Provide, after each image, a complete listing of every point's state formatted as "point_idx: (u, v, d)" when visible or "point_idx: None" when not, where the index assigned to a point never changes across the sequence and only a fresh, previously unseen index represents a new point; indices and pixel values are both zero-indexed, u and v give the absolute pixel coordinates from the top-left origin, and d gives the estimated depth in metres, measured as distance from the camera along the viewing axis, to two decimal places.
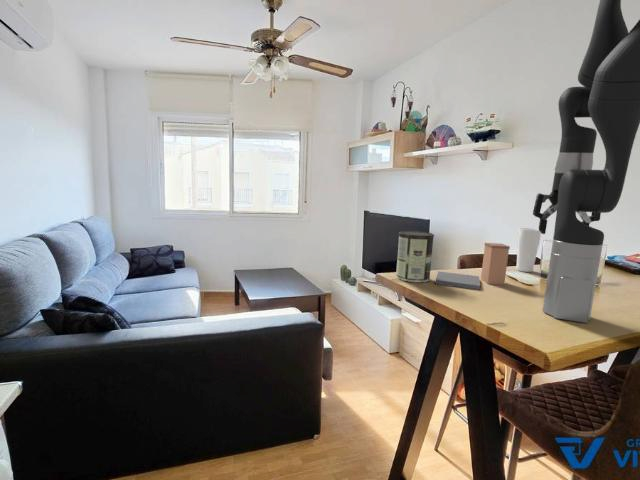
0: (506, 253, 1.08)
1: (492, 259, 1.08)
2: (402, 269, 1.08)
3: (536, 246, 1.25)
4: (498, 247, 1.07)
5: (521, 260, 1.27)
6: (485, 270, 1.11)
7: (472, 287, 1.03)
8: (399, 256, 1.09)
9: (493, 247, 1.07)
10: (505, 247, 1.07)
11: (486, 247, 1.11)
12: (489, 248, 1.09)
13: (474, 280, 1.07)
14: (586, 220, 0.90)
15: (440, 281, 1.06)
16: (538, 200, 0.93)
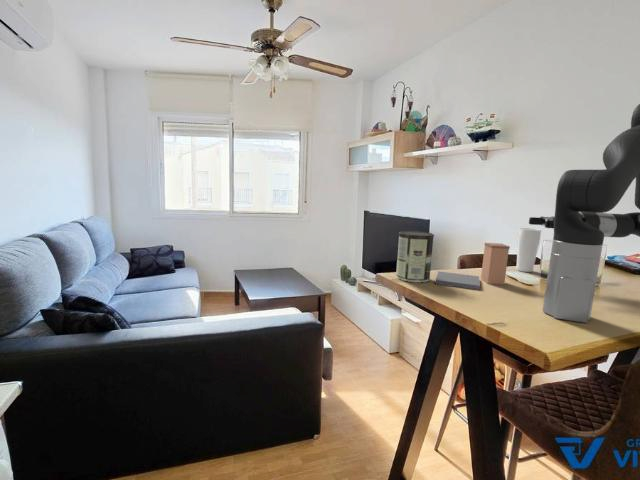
0: (506, 253, 1.08)
1: (492, 259, 1.08)
2: (402, 269, 1.08)
3: (536, 246, 1.25)
4: (498, 247, 1.07)
5: (521, 260, 1.27)
6: (485, 270, 1.11)
7: (472, 287, 1.03)
8: (399, 256, 1.09)
9: (493, 247, 1.07)
10: (505, 247, 1.07)
11: (486, 247, 1.11)
12: (489, 248, 1.09)
13: (474, 280, 1.07)
14: None
15: (440, 281, 1.06)
16: None
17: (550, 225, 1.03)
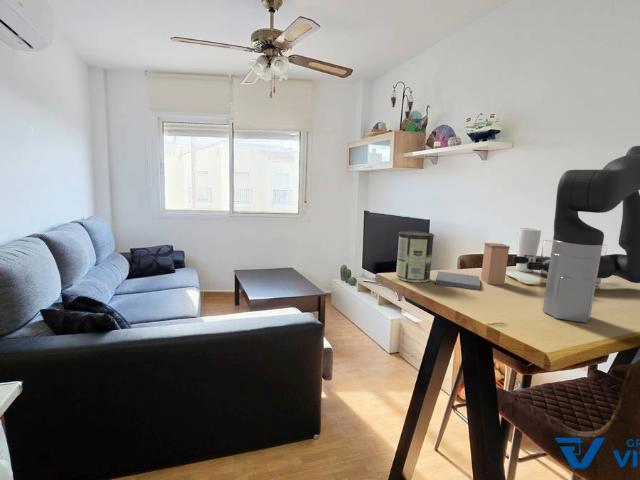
0: (506, 253, 1.08)
1: (492, 259, 1.08)
2: (402, 269, 1.08)
3: (536, 246, 1.25)
4: (498, 247, 1.07)
5: None
6: (485, 270, 1.11)
7: (472, 287, 1.03)
8: (399, 256, 1.09)
9: (493, 247, 1.07)
10: (505, 247, 1.07)
11: (486, 247, 1.11)
12: (489, 248, 1.09)
13: (474, 280, 1.07)
14: (543, 262, 1.06)
15: (440, 281, 1.06)
16: None
17: (532, 267, 1.05)
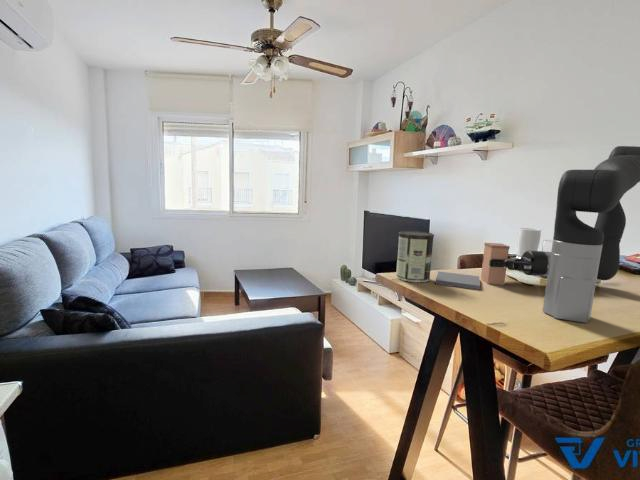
0: (506, 253, 1.08)
1: (492, 258, 1.08)
2: (402, 269, 1.08)
3: (536, 246, 1.25)
4: (498, 247, 1.07)
5: None
6: (485, 270, 1.11)
7: (472, 287, 1.03)
8: (399, 256, 1.09)
9: (493, 247, 1.07)
10: (505, 247, 1.07)
11: (486, 247, 1.11)
12: (489, 248, 1.09)
13: (474, 280, 1.07)
14: None
15: (440, 281, 1.06)
16: None
17: (494, 264, 1.07)
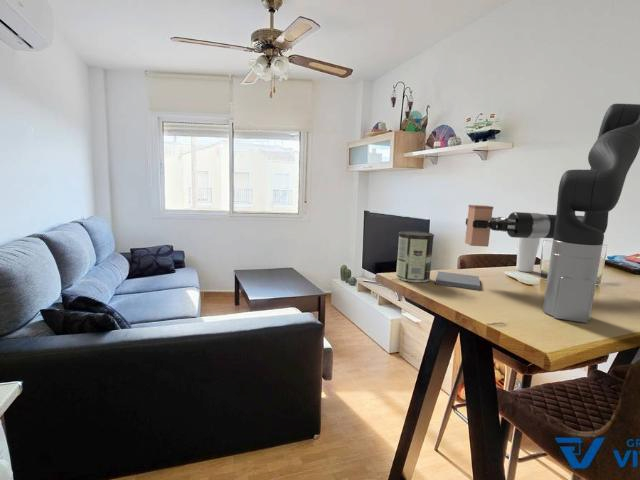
0: (490, 214, 1.05)
1: (476, 219, 1.05)
2: (402, 269, 1.08)
3: (536, 246, 1.25)
4: (481, 207, 1.04)
5: (521, 260, 1.27)
6: (468, 233, 1.08)
7: (472, 287, 1.03)
8: (399, 256, 1.09)
9: (476, 207, 1.04)
10: (489, 207, 1.04)
11: (470, 209, 1.08)
12: (472, 209, 1.06)
13: (474, 280, 1.07)
14: (489, 220, 1.04)
15: (440, 281, 1.06)
16: None
17: (477, 225, 1.04)
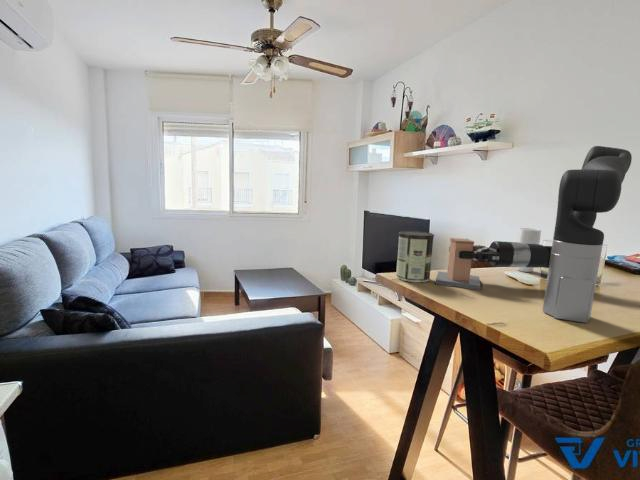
0: (471, 248, 1.05)
1: (456, 254, 1.06)
2: (402, 269, 1.08)
3: None
4: (462, 242, 1.05)
5: None
6: (450, 266, 1.09)
7: (472, 287, 1.03)
8: (399, 256, 1.09)
9: (457, 242, 1.05)
10: (469, 242, 1.05)
11: (451, 242, 1.09)
12: (454, 243, 1.07)
13: (474, 280, 1.07)
14: (475, 251, 1.04)
15: (440, 281, 1.06)
16: (475, 245, 1.14)
17: (463, 256, 1.03)
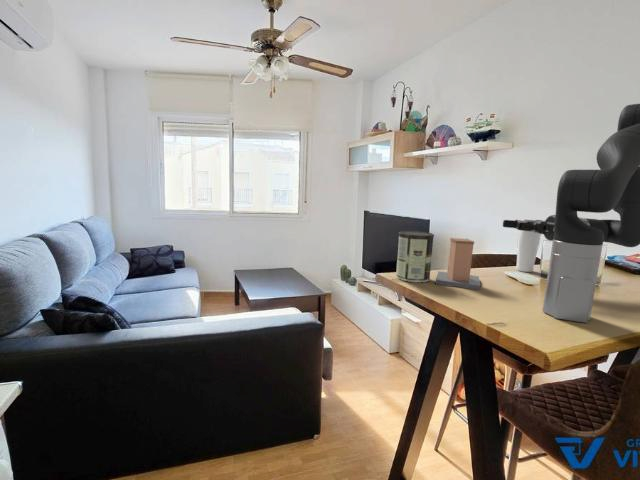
0: (471, 248, 1.05)
1: (456, 254, 1.06)
2: (402, 269, 1.08)
3: (536, 246, 1.25)
4: (462, 242, 1.05)
5: (521, 260, 1.27)
6: (450, 266, 1.09)
7: (472, 287, 1.03)
8: (399, 256, 1.09)
9: (457, 242, 1.05)
10: (469, 242, 1.05)
11: (451, 242, 1.09)
12: (454, 243, 1.07)
13: (474, 280, 1.07)
14: (534, 223, 1.01)
15: (440, 281, 1.06)
16: None
17: (522, 227, 1.01)
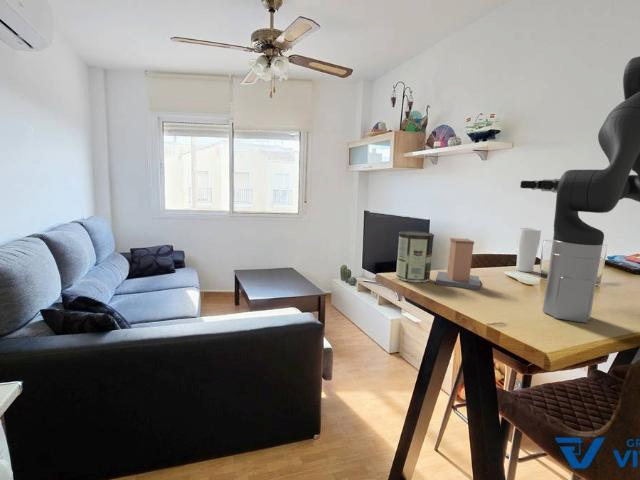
0: (471, 248, 1.05)
1: (456, 254, 1.06)
2: (402, 269, 1.08)
3: (536, 246, 1.25)
4: (462, 242, 1.05)
5: (521, 260, 1.27)
6: (450, 266, 1.09)
7: (472, 287, 1.03)
8: (399, 256, 1.09)
9: (457, 242, 1.05)
10: (469, 242, 1.05)
11: (451, 242, 1.09)
12: (454, 243, 1.07)
13: (474, 280, 1.07)
14: (554, 180, 0.99)
15: (440, 281, 1.06)
16: None
17: (542, 185, 0.99)
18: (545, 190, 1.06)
